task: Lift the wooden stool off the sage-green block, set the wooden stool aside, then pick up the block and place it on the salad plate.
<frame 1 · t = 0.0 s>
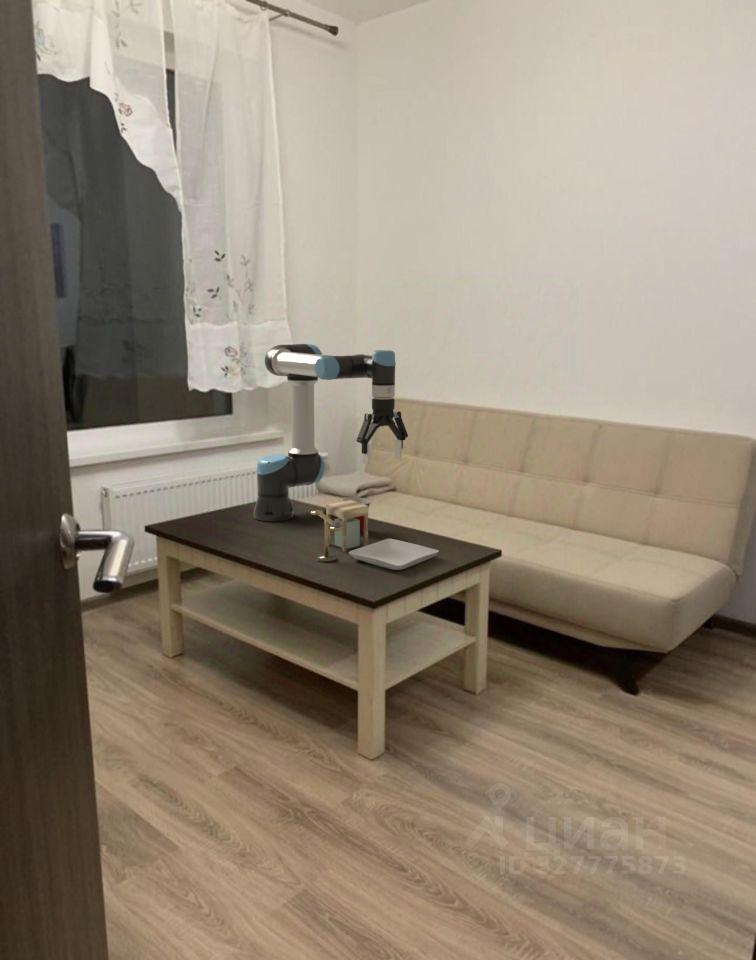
hand: (382, 461, 253), 28 cm above the table, tool pointing down, fingers open, 13 cm apart
plastic cup: (355, 532, 269), on the table
salad plate: (393, 561, 240), on the table
wooden stool: (347, 545, 254), on the table
balance: (326, 559, 239), on the table
block: (347, 545, 254), on the table
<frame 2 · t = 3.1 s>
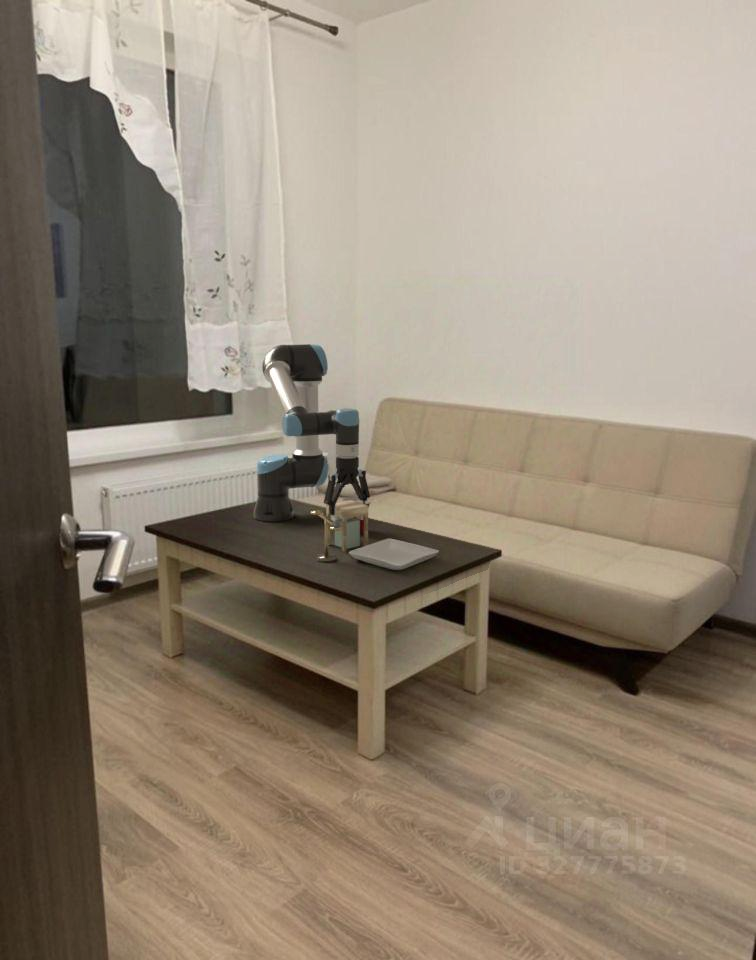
hand: (347, 521, 252), 8 cm above the table, tool pointing down, fingers closed on wooden stool, 10 cm apart
wooden stool: (347, 545, 254), on the table, touching gripper
everything else where it was.
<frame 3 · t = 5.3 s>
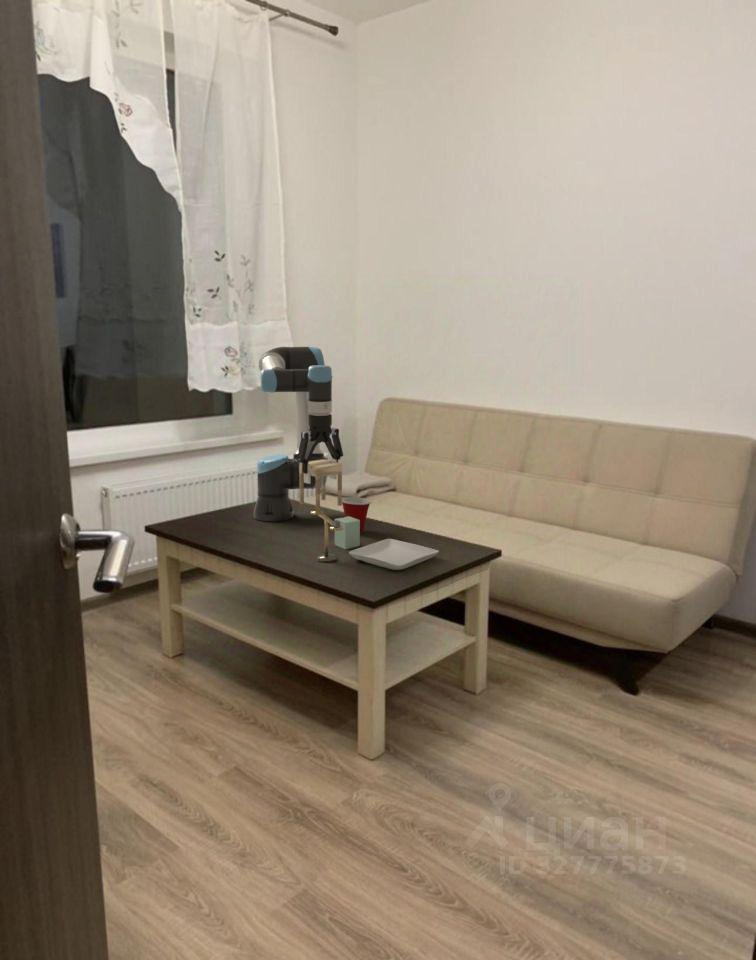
hand: (320, 480, 249), 22 cm above the table, tool pointing down, fingers closed on wooden stool, 10 cm apart
wooden stool: (320, 504, 251), point 14 cm above the table, touching gripper
everything else where it was.
when the fingers open (9 cm above the table, at t = 7.7 s): wooden stool stays where it is, on the table.
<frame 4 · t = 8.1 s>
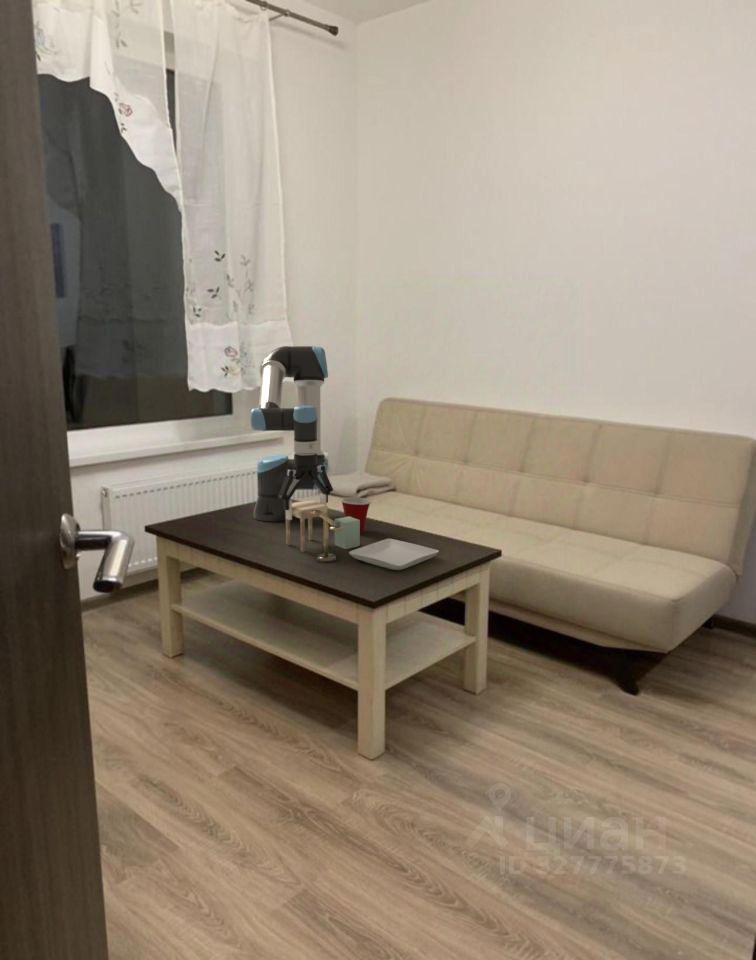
hand: (306, 516, 251), 10 cm above the table, tool pointing down, fingers open, 13 cm apart
wooden stool: (306, 545, 253), on the table
everything else where it was.
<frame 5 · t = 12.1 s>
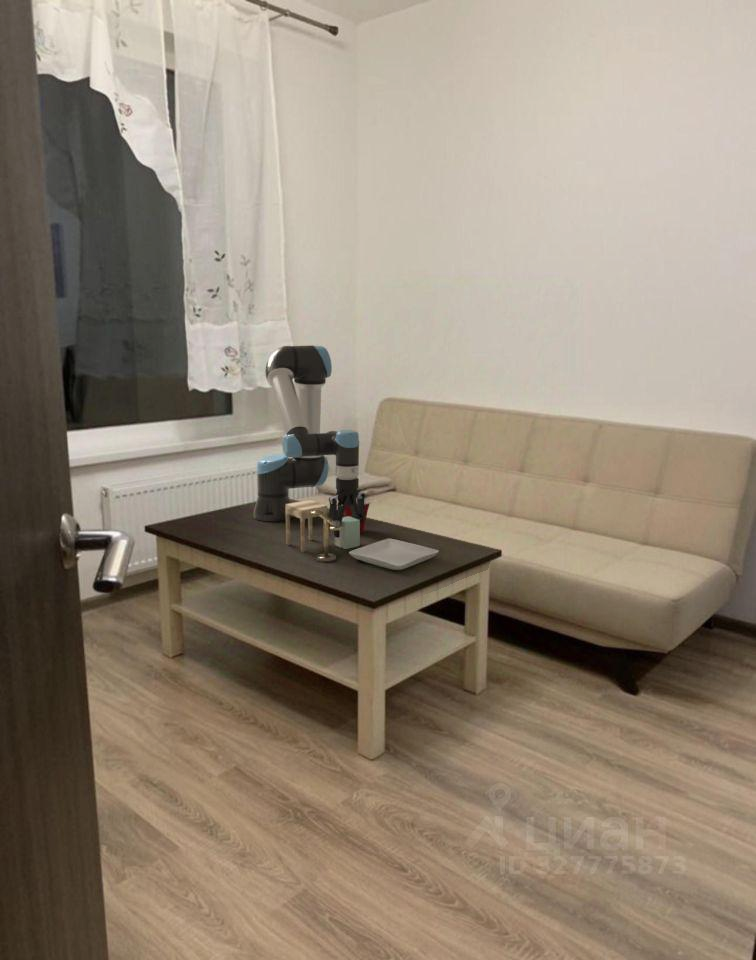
hand: (347, 544, 253), 0 cm above the table, tool pointing down, fingers closed on block, 6 cm apart
block: (347, 545, 254), on the table, touching gripper
everything else where it was.
when the fingers open (5 cm above the table, at t = 17.3 s): block drops 2 cm, point 3 cm above the table.
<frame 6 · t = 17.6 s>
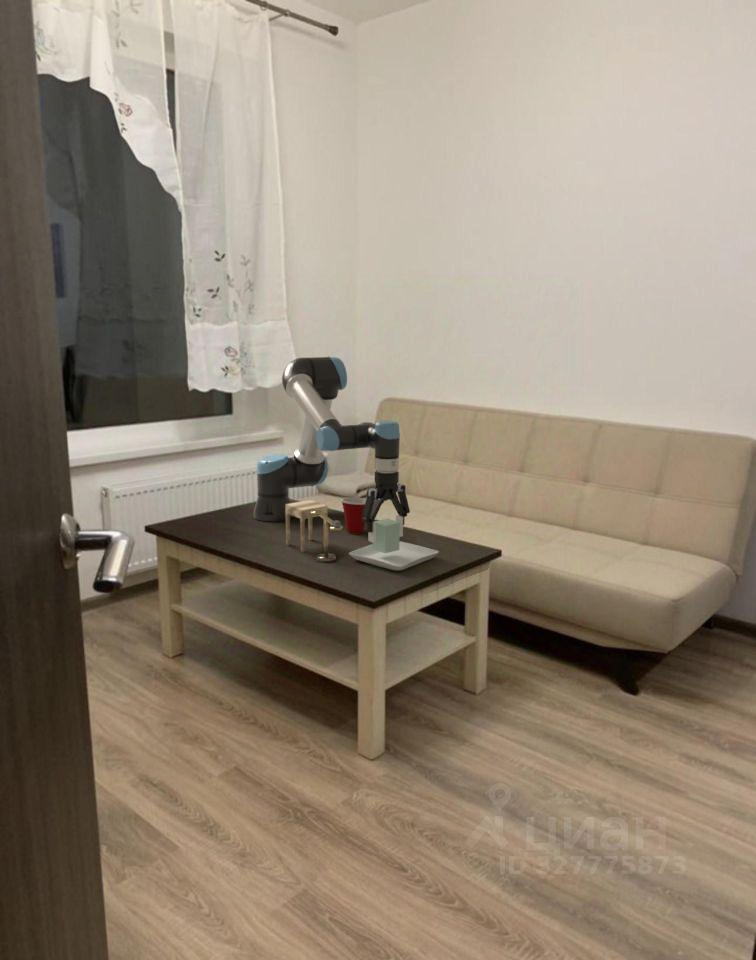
hand: (385, 538, 240), 6 cm above the table, tool pointing down, fingers open, 10 cm apart
block: (386, 549, 240), point 3 cm above the table
everything else where it was.
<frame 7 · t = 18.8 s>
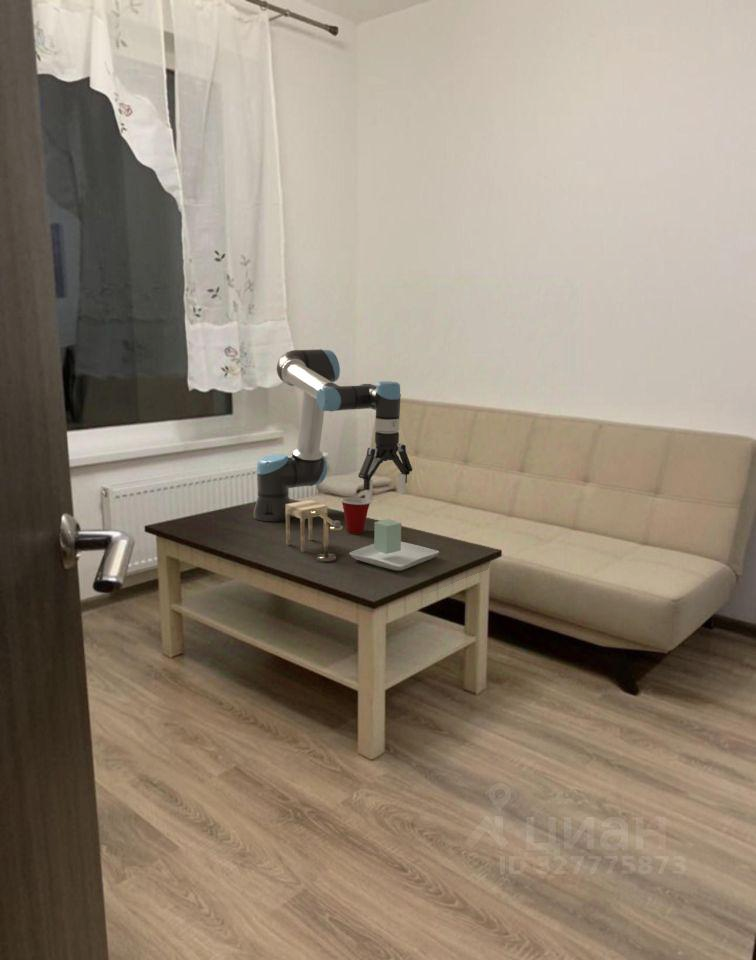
hand: (385, 496, 242), 19 cm above the table, tool pointing down, fingers open, 13 cm apart
salad plate: (394, 562, 239), on the table, touching block
block: (387, 549, 240), point 3 cm above the table, touching salad plate
everything else where it was.
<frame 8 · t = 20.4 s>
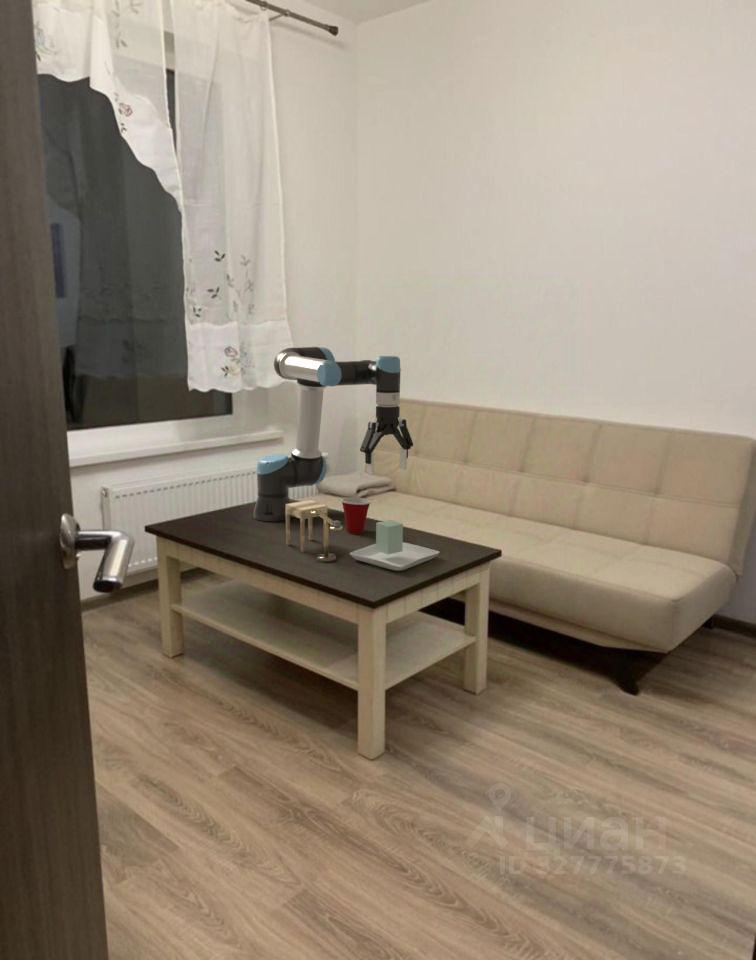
hand: (386, 471, 243), 27 cm above the table, tool pointing down, fingers open, 13 cm apart
nothing on the table moved.
at the end: block inside the target area in the salad plate (2.0 cm from its centre), point 3.6 cm above the salad plate's base; the gripper is holding nothing; wooden stool moved 13.6 cm from its start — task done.
